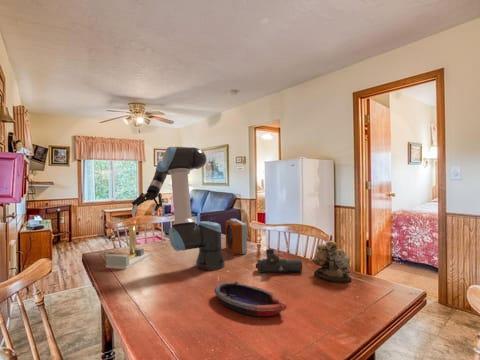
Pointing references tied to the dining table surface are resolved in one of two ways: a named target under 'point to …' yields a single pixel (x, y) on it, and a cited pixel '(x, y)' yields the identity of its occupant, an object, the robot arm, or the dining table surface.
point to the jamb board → (131, 262)
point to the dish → (249, 299)
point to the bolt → (132, 242)
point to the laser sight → (277, 264)
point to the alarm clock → (236, 236)
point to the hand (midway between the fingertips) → (142, 214)
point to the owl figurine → (332, 263)
